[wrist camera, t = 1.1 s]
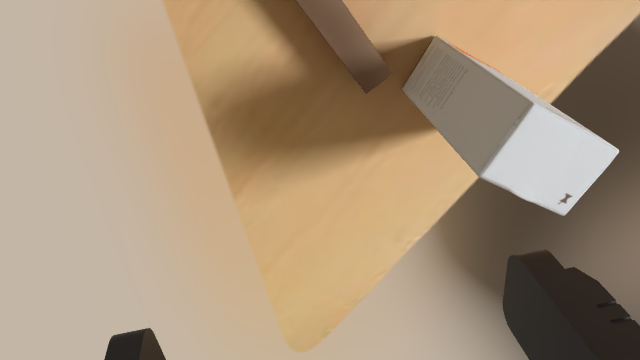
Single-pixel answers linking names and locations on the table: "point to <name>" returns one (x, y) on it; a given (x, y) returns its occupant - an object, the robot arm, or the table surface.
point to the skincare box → (506, 129)
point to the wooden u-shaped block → (347, 41)
